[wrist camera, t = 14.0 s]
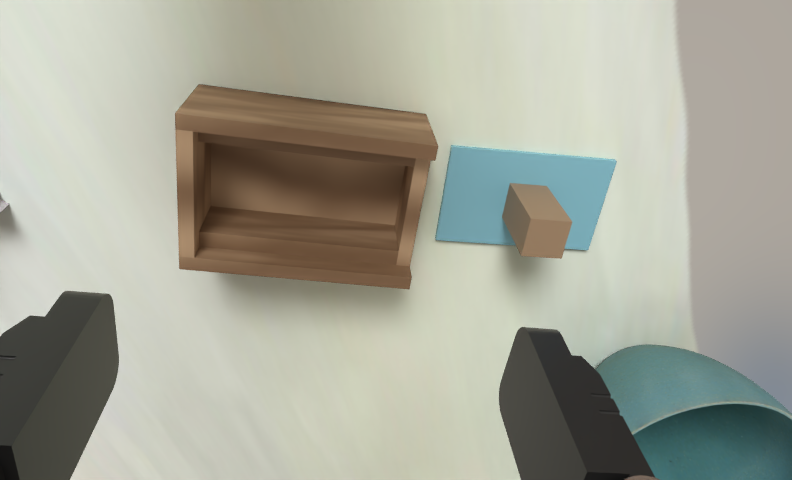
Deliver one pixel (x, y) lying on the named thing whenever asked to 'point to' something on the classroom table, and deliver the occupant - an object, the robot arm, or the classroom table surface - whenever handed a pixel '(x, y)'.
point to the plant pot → (698, 416)
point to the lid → (523, 199)
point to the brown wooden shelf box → (299, 187)
